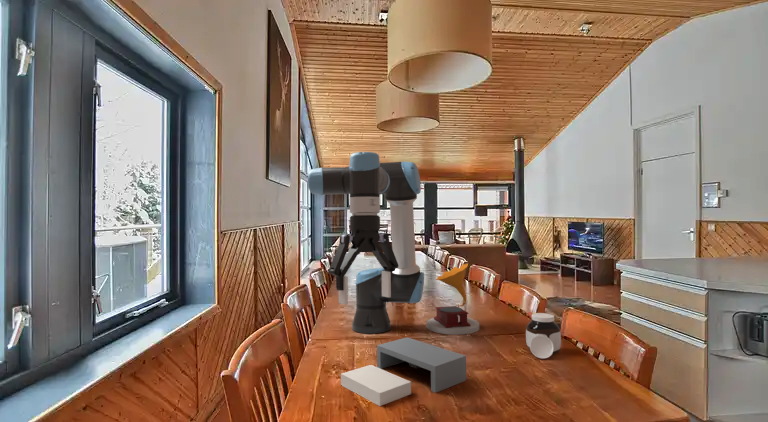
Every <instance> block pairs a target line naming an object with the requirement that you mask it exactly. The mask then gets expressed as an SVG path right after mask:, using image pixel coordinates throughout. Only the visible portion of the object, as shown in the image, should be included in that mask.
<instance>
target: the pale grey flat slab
mask: <svg viewBox="0 0 768 422" xmlns="http://www.w3.org/2000/svg"><path fill="white" fill-rule="evenodd" d="M341 385H342V386H341ZM340 386H341V387H343V388H345V389H347V390H349V391H351V392H353V393H354V392H355V393H354V394H356V393H357V394H356V395H359V396H360V397H362V398H364V399H366V400H367V401H370V402H371V403H373V404H374V405H377V406H379V407H381V406H383V405H386V404H389V403H391V402H395V401H397V400H400V399H402V398H404V397H407V396H409V395H412V381H410V380H408V379H406V378H403V377H400V376H398V375H396V374H394V373H391V372H388V371H387V370H384V369H380V368H378V367H377V366H375V365H372V364H369V365H365V366H362V367H357V368H356V369H352V370H349V371H346V372H342V373H340Z"/></svg>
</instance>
